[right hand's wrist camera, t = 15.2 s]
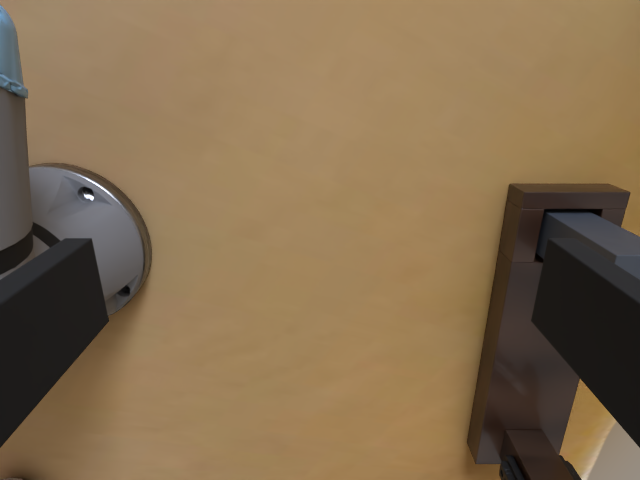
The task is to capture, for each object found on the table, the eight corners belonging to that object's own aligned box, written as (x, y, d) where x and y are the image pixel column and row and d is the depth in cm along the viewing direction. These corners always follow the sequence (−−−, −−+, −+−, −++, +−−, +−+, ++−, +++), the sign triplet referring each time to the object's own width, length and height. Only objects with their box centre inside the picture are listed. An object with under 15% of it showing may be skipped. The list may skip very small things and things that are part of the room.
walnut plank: (543, 442, 50) (594, 527, 41) (466, 442, 50) (500, 526, 41) (608, 183, 39) (699, 218, 29) (509, 183, 39) (569, 218, 29)
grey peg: (566, 244, 41) (659, 308, 30) (524, 244, 41) (602, 308, 30) (575, 204, 39) (677, 255, 28) (532, 204, 39) (616, 255, 28)
